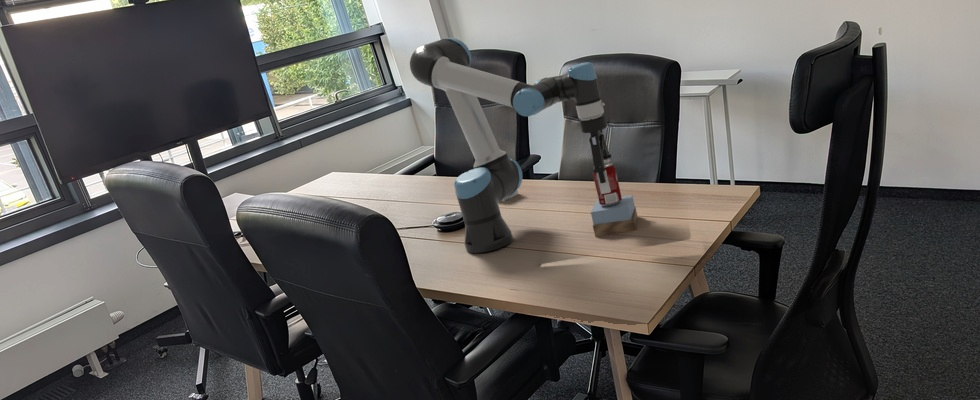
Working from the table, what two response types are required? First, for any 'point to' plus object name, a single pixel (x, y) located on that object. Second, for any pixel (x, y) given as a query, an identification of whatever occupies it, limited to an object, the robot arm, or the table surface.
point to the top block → (613, 211)
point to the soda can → (615, 193)
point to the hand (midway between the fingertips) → (607, 186)
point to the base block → (616, 226)
